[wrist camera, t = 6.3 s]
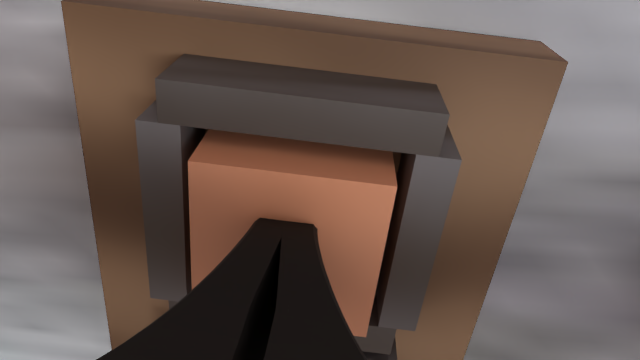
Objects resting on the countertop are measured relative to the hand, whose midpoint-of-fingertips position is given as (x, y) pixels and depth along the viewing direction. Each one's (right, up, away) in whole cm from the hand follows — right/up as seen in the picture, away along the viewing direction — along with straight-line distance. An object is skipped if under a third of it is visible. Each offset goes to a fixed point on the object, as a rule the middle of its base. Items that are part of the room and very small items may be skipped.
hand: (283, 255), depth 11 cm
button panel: (0, -4, +8) cm, 9 cm away
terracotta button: (0, +1, +2) cm, 2 cm away
